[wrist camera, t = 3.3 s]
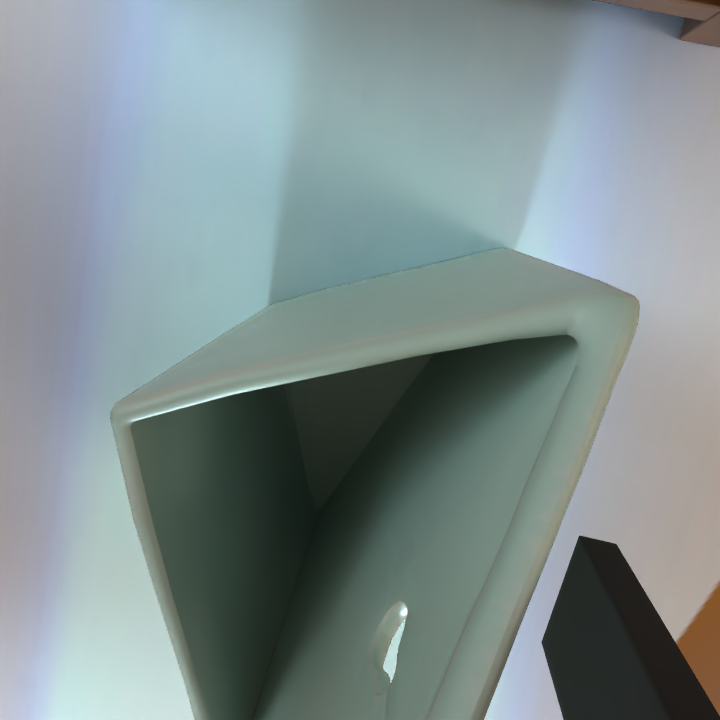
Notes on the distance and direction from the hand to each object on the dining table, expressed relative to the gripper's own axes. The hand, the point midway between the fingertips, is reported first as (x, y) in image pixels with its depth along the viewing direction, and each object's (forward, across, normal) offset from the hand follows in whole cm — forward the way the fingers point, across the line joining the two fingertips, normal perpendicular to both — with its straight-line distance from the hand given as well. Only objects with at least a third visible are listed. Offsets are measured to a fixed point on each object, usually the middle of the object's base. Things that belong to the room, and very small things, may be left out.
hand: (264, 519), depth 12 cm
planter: (+14, 0, 0) cm, 14 cm away
